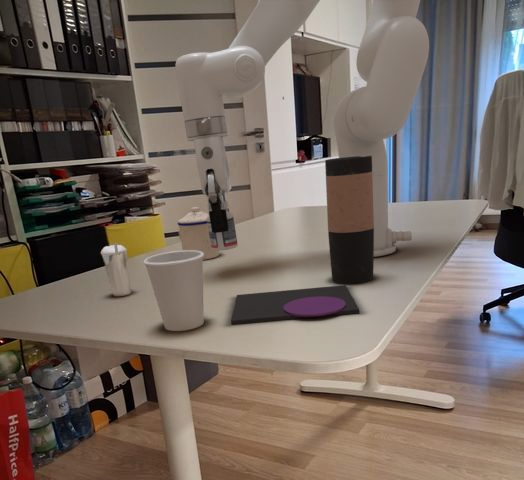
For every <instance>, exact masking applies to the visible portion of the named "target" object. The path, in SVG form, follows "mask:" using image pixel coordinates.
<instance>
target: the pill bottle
mask: <svg viewBox="0 0 524 480" xmlns="http://www.w3.org/2000/svg"><path fill="white" fill-rule="evenodd" d="M223 203H224V210H225V209H226V214H227V221H228V228H229V230H228V231H226V232H218V233H213V232H212V229H211V223H210V216H208V217H207V225H208V231H209V237H210V242H211V248H212V250H214V251H219V252H220V251H221V252H222V251H228V250H233V249H236V248H237V247H238V244H239V243H238V237H237V232H236V225H235V219H234V215H233V213H232V212H230V211H229V212H228V209H230V208H229V203H228V201H227V200H226V201H223ZM206 207H207V211H208V213H209V212H210V211H209V205H208V203H207V204H206Z"/></svg>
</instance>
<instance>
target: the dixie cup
mask: <svg viewBox="0 0 524 480" xmlns="http://www.w3.org/2000/svg"><path fill="white" fill-rule="evenodd" d="M203 256H204V253H203V252H201V251H196V250H184V251H183V250H175V251H166V252H162V253H157V254H153V255H151V256H148V257H146V258H145V259H144V260H143V264H144V265H145V267H146V271H147V273H148V276H149V281H150V284H151V287H152V290H153V293H154V297H155V299H156V300H155V301H156V304H157V307H158V310H159V313H160V316H161V321H162V322H163V326H164V329H165V330H167V331H171V332H182V331H189V330H190V331H191V330H194V329H196V328H199V327H201V326H202V325H204V323H205V320H204V319H205V318H204V317H205V316H204V315H205V314H204V313H205V311H204V310H205V309H204V264H203V263H204V260H203Z"/></svg>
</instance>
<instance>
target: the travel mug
mask: <svg viewBox="0 0 524 480" xmlns="http://www.w3.org/2000/svg"><path fill="white" fill-rule="evenodd" d="M324 164H325V166H324V167H325V188H326V189H325V191H326V212H327V214H326V215H327V231H328V232H327V235H328V245H329V247H328V248H329V257H330V259H329V260H330V270H331V271H330V272H331V280H332V282H334V283H336V284H342V285H355V284H362V283H367V282H369V281H372V280H373V279H374V265H375V264H374V263H375V260H374V258H375V257H374V213H373V179H372V156H365V157H361V156H354V157H344V158H339V157H335V158H328V159H325V162H324Z"/></svg>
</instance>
